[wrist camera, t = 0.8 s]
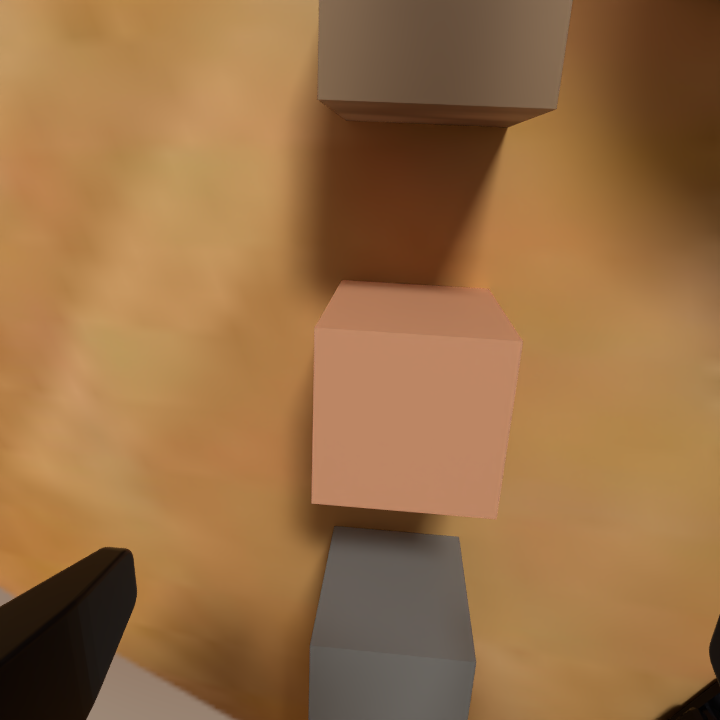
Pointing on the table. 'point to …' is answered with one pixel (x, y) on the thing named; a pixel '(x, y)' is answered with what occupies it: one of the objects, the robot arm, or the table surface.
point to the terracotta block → (413, 398)
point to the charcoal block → (392, 629)
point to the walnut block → (442, 60)
